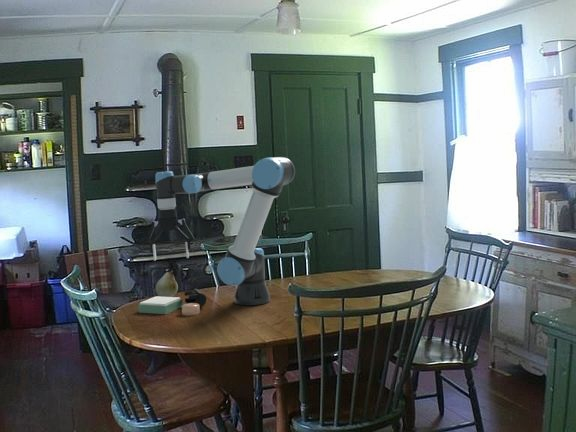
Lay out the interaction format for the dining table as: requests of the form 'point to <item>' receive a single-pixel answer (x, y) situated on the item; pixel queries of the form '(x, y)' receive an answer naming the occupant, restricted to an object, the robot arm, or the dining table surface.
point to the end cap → (195, 297)
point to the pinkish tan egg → (190, 309)
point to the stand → (160, 305)
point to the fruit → (167, 285)
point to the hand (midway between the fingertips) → (171, 258)
